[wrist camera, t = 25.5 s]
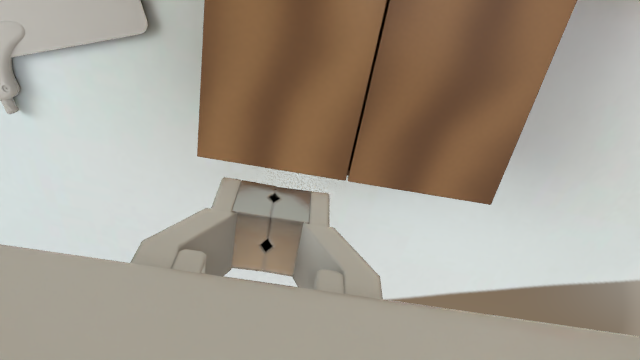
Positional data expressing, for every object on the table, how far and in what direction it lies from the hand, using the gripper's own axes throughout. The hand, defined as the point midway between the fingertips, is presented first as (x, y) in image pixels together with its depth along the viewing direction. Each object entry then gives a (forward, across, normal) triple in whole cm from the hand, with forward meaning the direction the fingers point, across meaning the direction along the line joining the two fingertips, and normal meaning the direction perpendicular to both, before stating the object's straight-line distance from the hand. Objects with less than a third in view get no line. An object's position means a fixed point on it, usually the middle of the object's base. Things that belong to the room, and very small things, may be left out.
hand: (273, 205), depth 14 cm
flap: (+15, +1, +1) cm, 15 cm away
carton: (+23, -4, +1) cm, 23 cm away
